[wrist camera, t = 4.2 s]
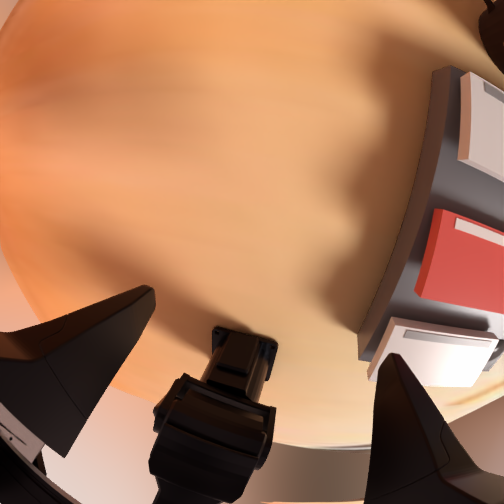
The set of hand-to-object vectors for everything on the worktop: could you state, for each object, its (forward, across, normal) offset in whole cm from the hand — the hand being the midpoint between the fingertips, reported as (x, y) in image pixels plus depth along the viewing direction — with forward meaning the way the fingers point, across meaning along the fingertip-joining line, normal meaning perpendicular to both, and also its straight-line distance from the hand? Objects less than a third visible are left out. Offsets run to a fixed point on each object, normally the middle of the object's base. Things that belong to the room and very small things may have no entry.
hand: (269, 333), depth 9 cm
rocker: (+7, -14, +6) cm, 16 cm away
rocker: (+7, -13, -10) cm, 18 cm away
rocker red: (+7, -13, -2) cm, 15 cm away
